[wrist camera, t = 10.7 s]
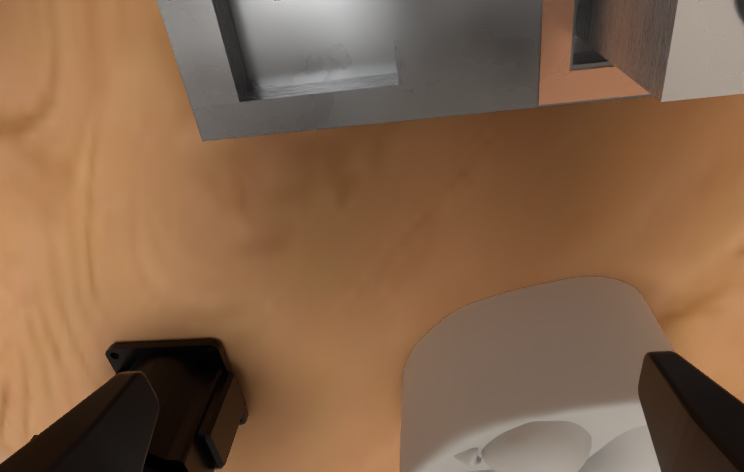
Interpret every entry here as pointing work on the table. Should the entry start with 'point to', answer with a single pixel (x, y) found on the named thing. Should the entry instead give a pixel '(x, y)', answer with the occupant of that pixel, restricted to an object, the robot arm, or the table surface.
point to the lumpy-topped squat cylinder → (533, 383)
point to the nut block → (670, 44)
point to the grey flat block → (379, 61)
